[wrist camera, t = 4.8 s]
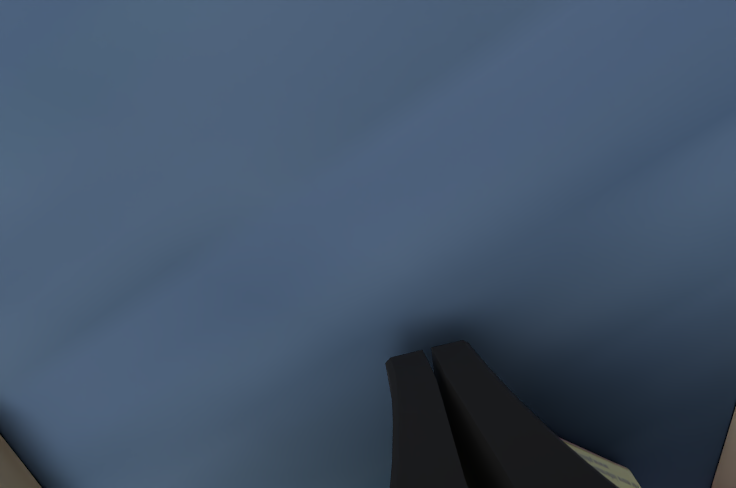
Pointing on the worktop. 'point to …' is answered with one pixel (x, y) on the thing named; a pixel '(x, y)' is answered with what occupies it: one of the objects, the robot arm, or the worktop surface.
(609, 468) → the box
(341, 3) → the worktop surface
